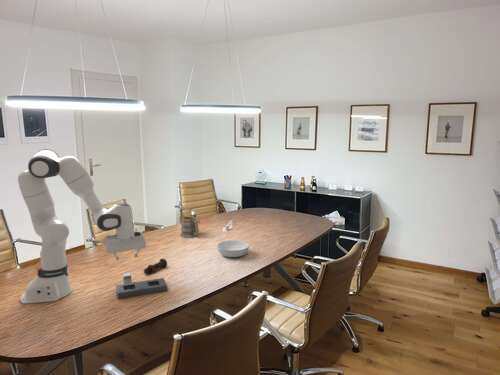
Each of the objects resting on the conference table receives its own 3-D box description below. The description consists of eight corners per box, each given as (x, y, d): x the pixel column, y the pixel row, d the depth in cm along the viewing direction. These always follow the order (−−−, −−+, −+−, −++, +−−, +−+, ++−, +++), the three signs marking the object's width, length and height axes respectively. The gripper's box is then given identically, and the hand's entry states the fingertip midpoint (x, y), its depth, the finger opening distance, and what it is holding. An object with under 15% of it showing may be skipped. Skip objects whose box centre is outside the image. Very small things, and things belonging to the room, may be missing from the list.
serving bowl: (223, 262, 229) (223, 252, 227) (213, 252, 247) (212, 242, 246) (254, 257, 237) (254, 247, 236) (241, 248, 256) (241, 238, 255)
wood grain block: (123, 285, 195) (123, 276, 194) (123, 282, 199) (122, 273, 198) (131, 284, 197) (131, 275, 196) (130, 281, 200) (130, 272, 200)
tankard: (177, 235, 286) (177, 216, 283) (191, 232, 294) (190, 214, 292) (192, 241, 271) (191, 221, 269) (206, 237, 280) (205, 218, 277)
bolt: (144, 277, 210) (163, 268, 223) (149, 275, 207) (168, 265, 220) (140, 268, 211) (159, 259, 223) (145, 265, 208) (164, 257, 220)
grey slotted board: (117, 299, 180) (117, 293, 179) (116, 290, 189) (116, 285, 188) (167, 290, 189) (167, 285, 188) (163, 283, 198) (163, 277, 197)
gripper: (103, 237, 187) (106, 263, 189) (145, 232, 194) (147, 257, 197) (103, 234, 192) (105, 259, 195) (144, 229, 200) (145, 253, 202)
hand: (127, 258), depth 196 cm, fingers open, 8 cm apart
